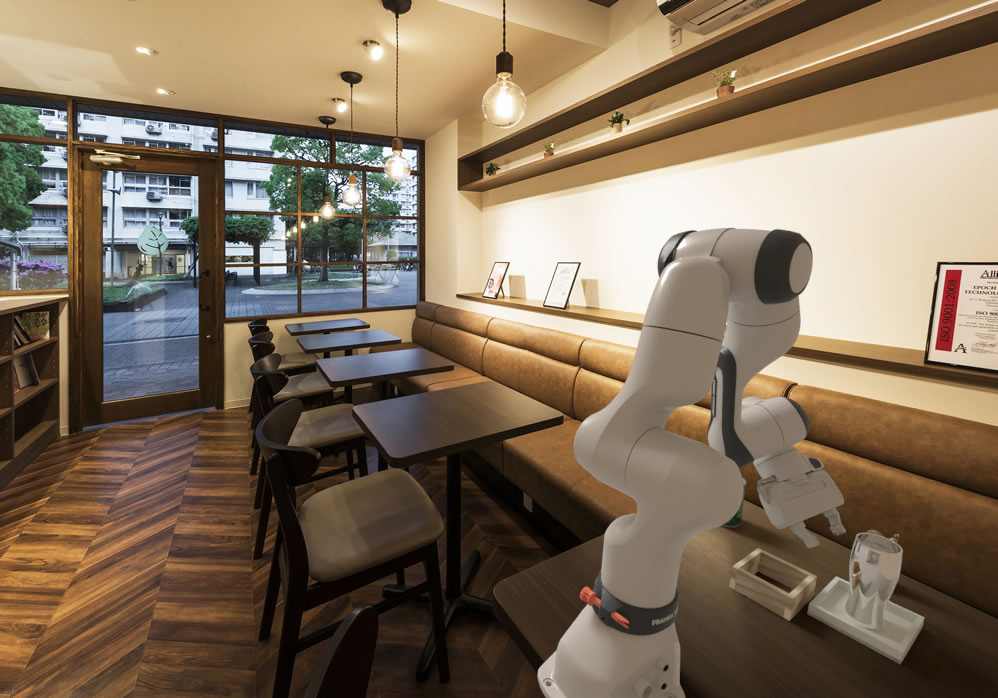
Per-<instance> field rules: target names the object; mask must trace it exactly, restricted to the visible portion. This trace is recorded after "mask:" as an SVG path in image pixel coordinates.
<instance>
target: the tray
mask: <svg viewBox="0 0 998 698" xmlns="http://www.w3.org/2000/svg"><path fill="white" fill-rule="evenodd" d="M849 592H850V581H847V580H845V579H843V578H840V577H839V576H835V577H834V578H833V579H832V580H830V581H829V582H828V584H827V585H826V586H825V587H824V588H822V590H821V591H820V592H819V593H818V594H817V595H816V596H815V597H813V598H812V599H811V600H810V601H809V602H808V607H807V614H806V615H808V616H810V617H812V618H813V619H816V620H817V621H819V622H821V623H823V624H825V625H827V626H829V627H830V628H832V629H834V630H836V631H837V632H839V633H841V634H843V635H845V636H847V637H849V638H851V639H853V640H855V641H856V642H858V643H860V644H862V645H864V646H865V647H868V648H869V649H871V650H872V651H875V652H876V653H878V654H879V655H881V656H884V657H885V658H887V659H889V660H891V661H893V662H895V663H897V664H899V665H902V664H903V661H905V660H904V659H905V658H906V657H907V655H908V653H909V651H910V649H911V648H912V646H913V645H914V643H915V641H916V640H917V638H918V636H919V634H920V632H921V631H922V630H923V626H924V622H925V616H922V615H920V614H918V613H916V612H914V611H912V610H909V609H908V608H905V607H903V606H901V605H899V604H897V603H894V602H892V601H891V600H889V601H888V603H887V606H886V609H885V628H884V629H882V630H870V629H867V628H864V627H862V626H859V625H857V624H856V623H854V622H853V621H851V620H850V619H849V618H848V617H847V616H846V615H845V613H844V611H843V609H844V606H845V604H846V602H847V600H848V597H849Z"/></svg>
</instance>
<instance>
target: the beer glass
mask: <svg viewBox="0 0 998 698" xmlns="http://www.w3.org/2000/svg"><path fill="white" fill-rule="evenodd" d="M883 536H884V535H883ZM883 536H880V535H876V534H871V533H866V532H859V533H857V534H856V535H855V539H854V541H853V544H852V548H851V552H850V556H849V566H848V568H849V569H848V571H849V573H848V575H849V578H848V579H849V582H850V592H849V597H848V600H847V602H846V604H845V606H844V609H843V611H844V613H845V615H846V616H847V617H848V618H849V619H850V620H851V621H853V622H854V623H856V624H857V625H859V626H862V627H864V628H867V629H870V630H882V629H884V628H885V609H886V606H887V603H888V601H890V599H891V597H892V595H893V593H894V590H895V588H896V587H897V584H898V582H899V579H900V574H901V571H902V570H901V569H902V561H903V552H904V550H903V548H902V546H901V545H900V544H897V543H895V542H894V541H892V540H890V538H888V537H885V536H884V537H883Z"/></svg>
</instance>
